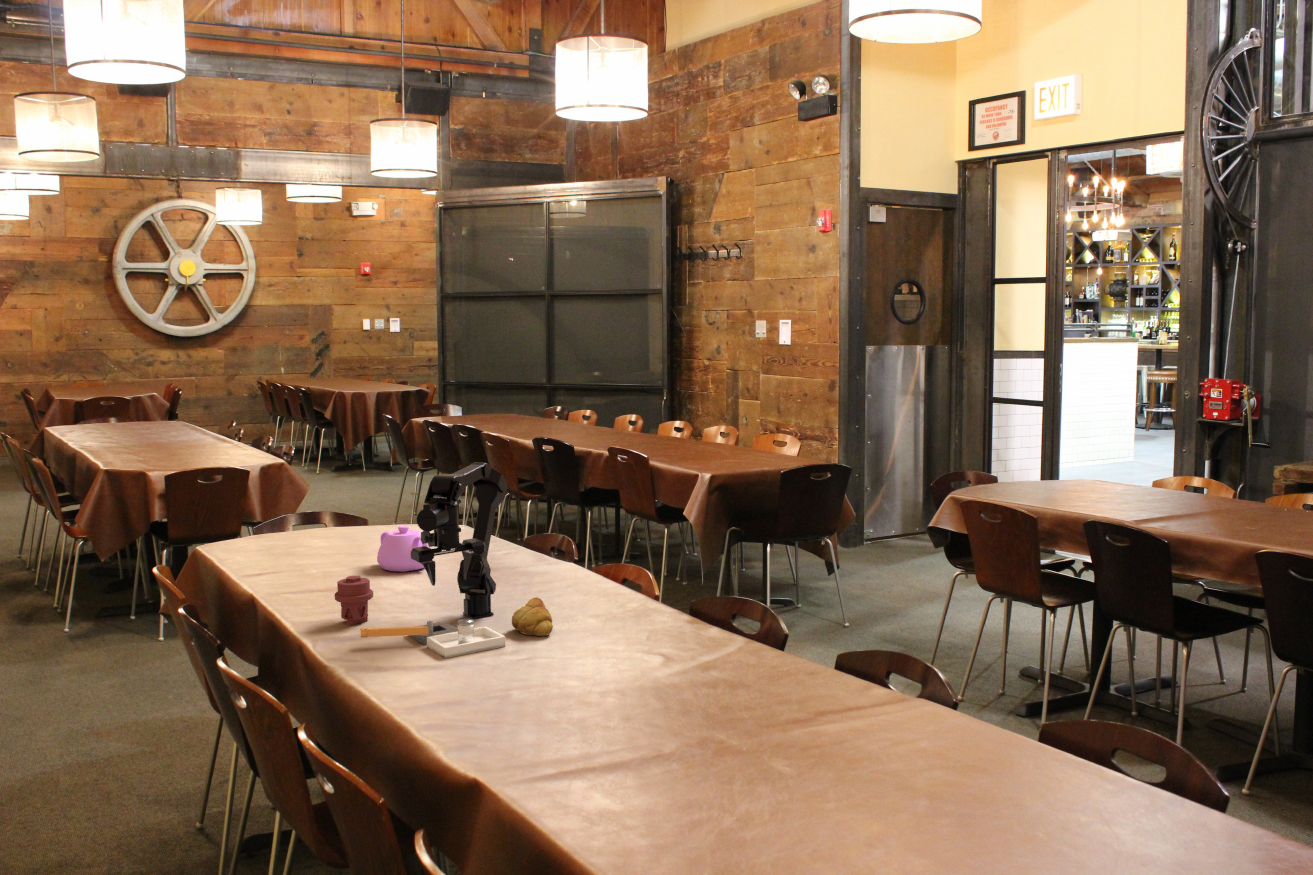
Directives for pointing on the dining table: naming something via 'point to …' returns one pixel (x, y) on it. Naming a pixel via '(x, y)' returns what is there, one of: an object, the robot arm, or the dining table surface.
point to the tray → (450, 648)
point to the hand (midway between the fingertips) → (449, 582)
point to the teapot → (399, 550)
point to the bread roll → (533, 618)
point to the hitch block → (435, 631)
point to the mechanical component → (354, 598)
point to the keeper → (398, 631)
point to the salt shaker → (465, 631)
